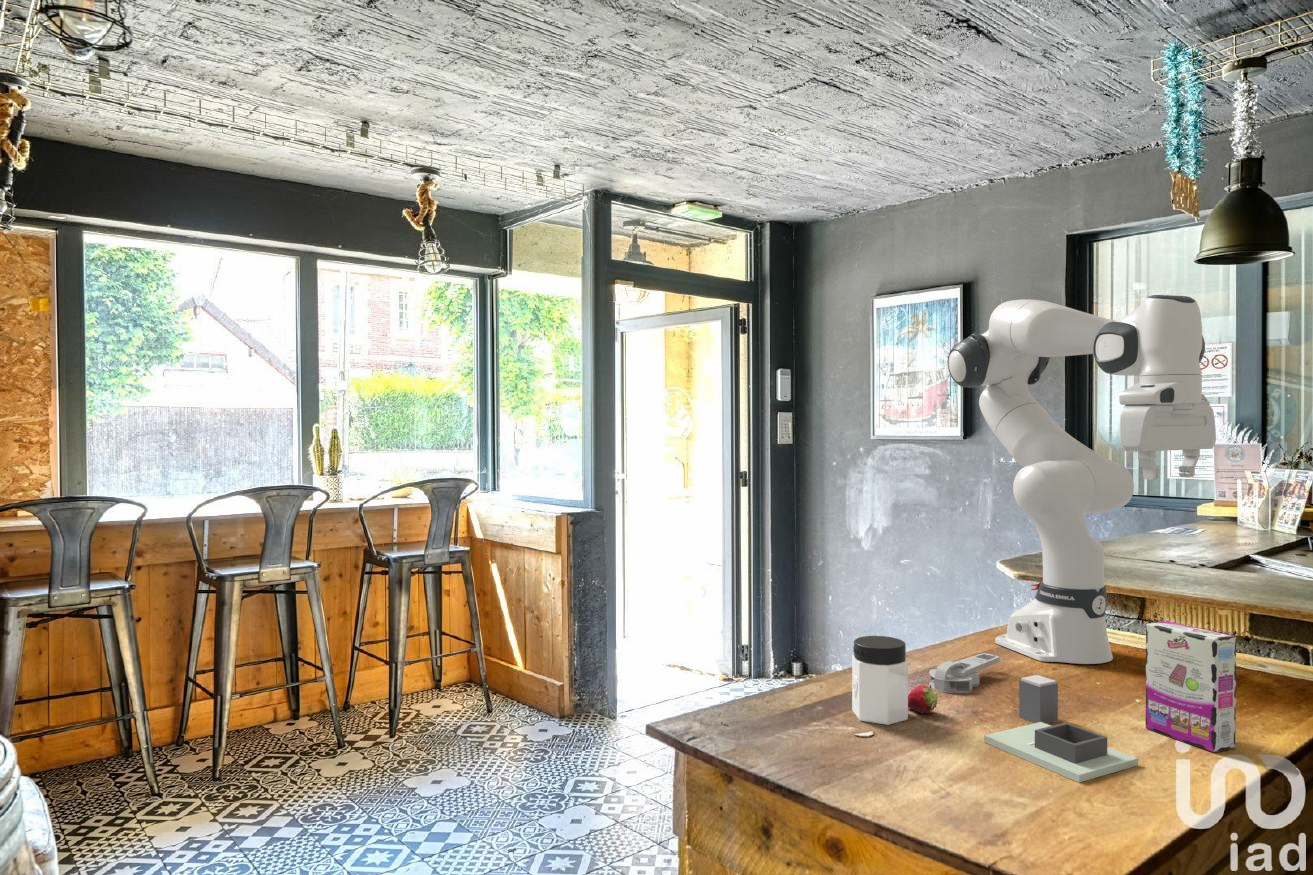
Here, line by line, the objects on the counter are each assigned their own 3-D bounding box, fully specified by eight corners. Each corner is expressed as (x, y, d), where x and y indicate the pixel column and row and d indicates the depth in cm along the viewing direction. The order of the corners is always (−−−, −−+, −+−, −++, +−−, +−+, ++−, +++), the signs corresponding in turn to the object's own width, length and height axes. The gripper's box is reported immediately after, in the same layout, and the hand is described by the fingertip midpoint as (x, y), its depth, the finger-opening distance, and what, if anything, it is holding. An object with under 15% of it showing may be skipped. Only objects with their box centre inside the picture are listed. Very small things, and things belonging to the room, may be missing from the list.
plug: (1019, 717, 140) (1019, 677, 140) (1036, 713, 142) (1036, 674, 142) (1039, 725, 136) (1040, 684, 136) (1057, 721, 138) (1057, 680, 138)
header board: (984, 741, 130) (984, 718, 130) (1040, 728, 135) (1040, 705, 135) (1078, 782, 115) (1079, 756, 115) (1138, 765, 121) (1138, 740, 121)
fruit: (913, 704, 147) (913, 675, 146) (944, 714, 142) (944, 684, 142) (897, 710, 144) (897, 679, 144) (927, 720, 139) (927, 689, 139)
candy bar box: (1237, 748, 126) (1239, 635, 126) (1214, 754, 124) (1215, 639, 124) (1165, 723, 137) (1166, 619, 136) (1143, 728, 135) (1144, 622, 134)
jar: (847, 706, 146) (847, 635, 145) (895, 705, 146) (895, 634, 146) (861, 726, 137) (861, 649, 136) (913, 724, 137) (913, 648, 137)
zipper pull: (1011, 675, 162) (1011, 652, 162) (958, 696, 150) (958, 671, 150) (972, 666, 168) (972, 644, 168) (918, 685, 157) (918, 661, 156)
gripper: (1189, 394, 150) (1188, 474, 151) (1112, 393, 141) (1111, 479, 141) (1227, 393, 145) (1226, 476, 145) (1149, 392, 135) (1149, 482, 136)
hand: (1169, 478), depth 143 cm, fingers open, 8 cm apart
